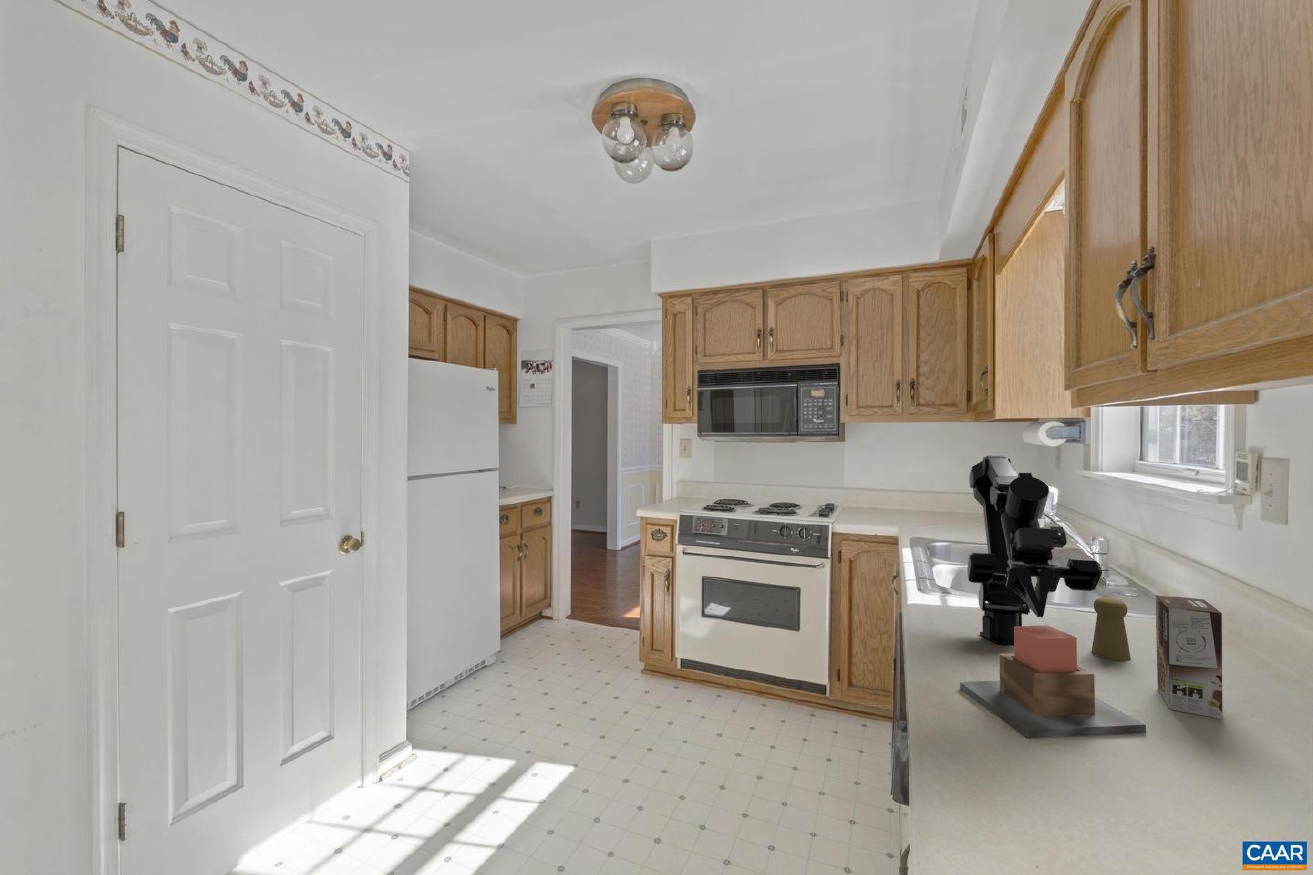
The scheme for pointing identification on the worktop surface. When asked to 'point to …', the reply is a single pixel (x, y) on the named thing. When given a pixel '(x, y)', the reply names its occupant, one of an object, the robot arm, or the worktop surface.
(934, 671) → the worktop surface
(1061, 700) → the stand
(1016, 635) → the pink eraser block
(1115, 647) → the cork
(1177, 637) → the coffee box
